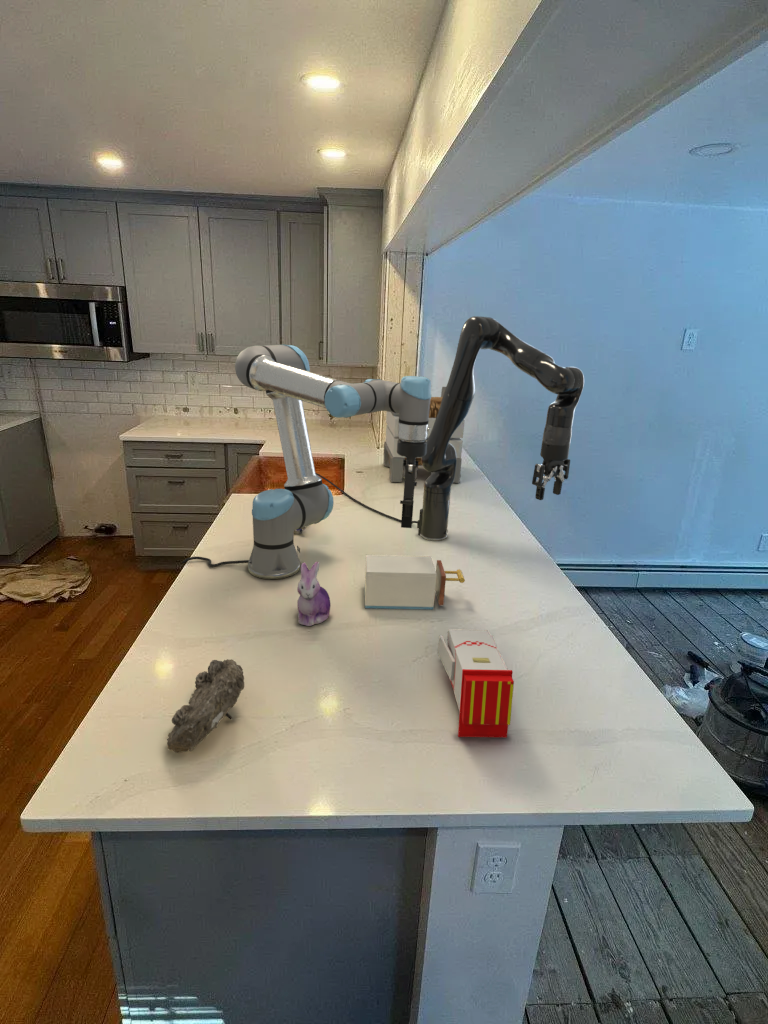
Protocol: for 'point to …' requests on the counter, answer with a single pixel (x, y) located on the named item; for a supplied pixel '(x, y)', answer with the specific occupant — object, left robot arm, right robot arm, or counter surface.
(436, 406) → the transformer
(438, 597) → the drawer
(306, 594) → the figurine
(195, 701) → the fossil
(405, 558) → the cabinet
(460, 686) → the toy
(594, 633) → the counter surface
